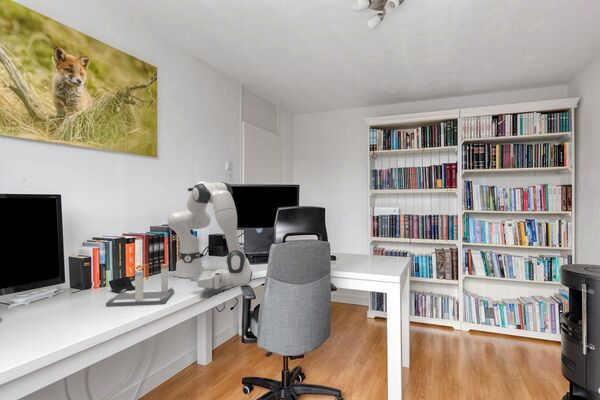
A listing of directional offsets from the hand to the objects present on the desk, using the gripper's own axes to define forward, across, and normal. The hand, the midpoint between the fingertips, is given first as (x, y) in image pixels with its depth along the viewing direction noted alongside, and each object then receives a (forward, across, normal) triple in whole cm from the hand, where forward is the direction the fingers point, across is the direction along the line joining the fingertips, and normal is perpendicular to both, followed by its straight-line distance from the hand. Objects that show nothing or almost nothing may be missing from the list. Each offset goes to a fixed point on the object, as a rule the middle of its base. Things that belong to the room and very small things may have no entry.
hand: (190, 278), depth 159 cm
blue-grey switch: (+20, +14, +5) cm, 25 cm away
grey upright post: (+12, 0, +5) cm, 13 cm away
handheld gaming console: (+34, -10, +8) cm, 36 cm away
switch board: (+20, +7, +7) cm, 23 cm away
